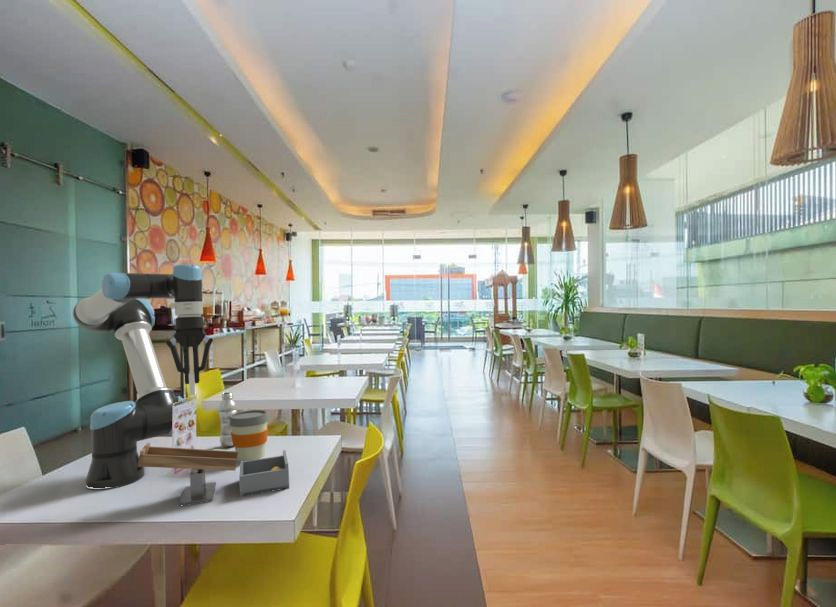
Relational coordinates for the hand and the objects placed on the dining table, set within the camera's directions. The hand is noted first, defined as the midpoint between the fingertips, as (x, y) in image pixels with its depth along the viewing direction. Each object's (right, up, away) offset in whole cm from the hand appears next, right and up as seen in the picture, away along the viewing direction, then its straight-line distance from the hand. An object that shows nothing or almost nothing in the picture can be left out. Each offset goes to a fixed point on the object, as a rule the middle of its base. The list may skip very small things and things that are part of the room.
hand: (192, 394), depth 136 cm
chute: (+3, -18, -7) cm, 20 cm away
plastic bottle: (-3, -27, +35) cm, 44 cm away
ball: (+26, -23, -3) cm, 35 cm away
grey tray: (+23, -25, -4) cm, 34 cm away
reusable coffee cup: (+10, -26, +21) cm, 35 cm away
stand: (+6, -26, -10) cm, 29 cm away
